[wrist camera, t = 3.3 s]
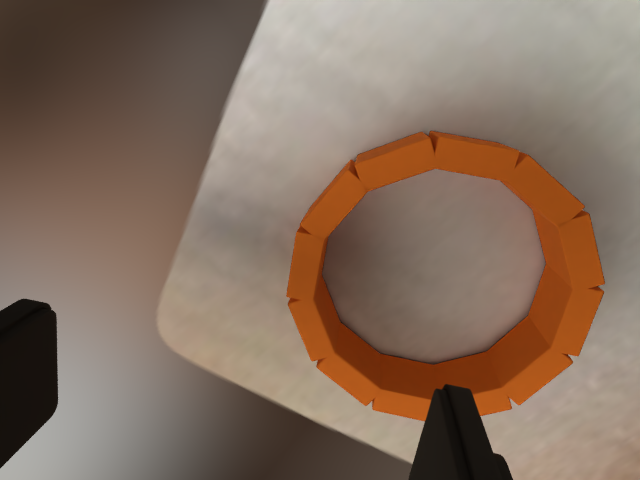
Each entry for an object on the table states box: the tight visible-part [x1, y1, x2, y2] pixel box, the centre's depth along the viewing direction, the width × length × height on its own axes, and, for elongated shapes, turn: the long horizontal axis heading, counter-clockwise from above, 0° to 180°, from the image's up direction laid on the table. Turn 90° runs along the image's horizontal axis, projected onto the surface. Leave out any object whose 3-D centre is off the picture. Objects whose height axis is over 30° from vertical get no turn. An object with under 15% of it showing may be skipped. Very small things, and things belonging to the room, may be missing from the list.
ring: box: [286, 131, 605, 421], centre depth 20 cm, size 12×12×3 cm
